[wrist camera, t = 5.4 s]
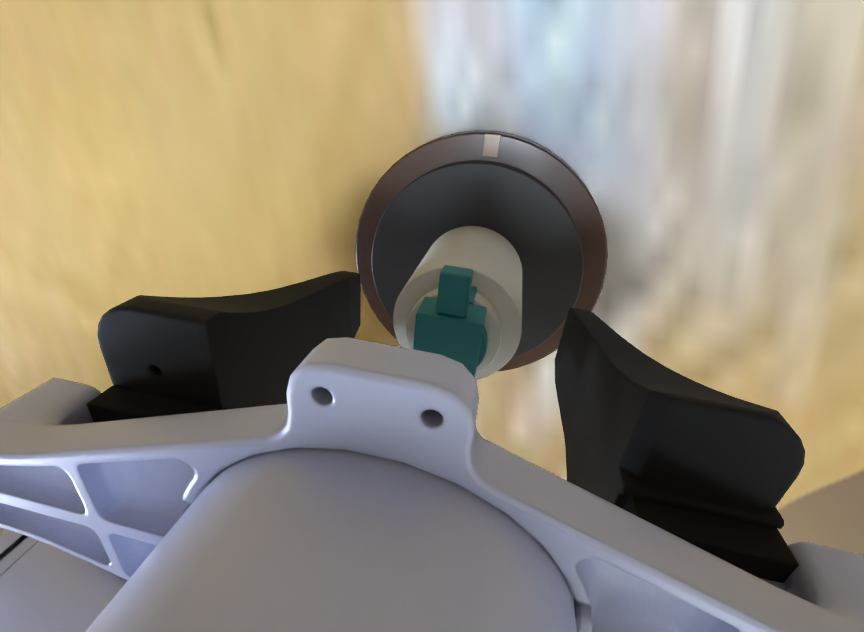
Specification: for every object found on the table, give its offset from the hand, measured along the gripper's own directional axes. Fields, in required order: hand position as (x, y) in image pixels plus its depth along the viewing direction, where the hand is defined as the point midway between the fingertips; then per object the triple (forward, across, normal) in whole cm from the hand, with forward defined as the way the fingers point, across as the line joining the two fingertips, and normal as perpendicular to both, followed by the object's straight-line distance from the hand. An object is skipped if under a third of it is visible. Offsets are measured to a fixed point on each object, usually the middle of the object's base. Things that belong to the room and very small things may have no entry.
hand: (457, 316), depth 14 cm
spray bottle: (+4, 0, 0) cm, 5 cm away
